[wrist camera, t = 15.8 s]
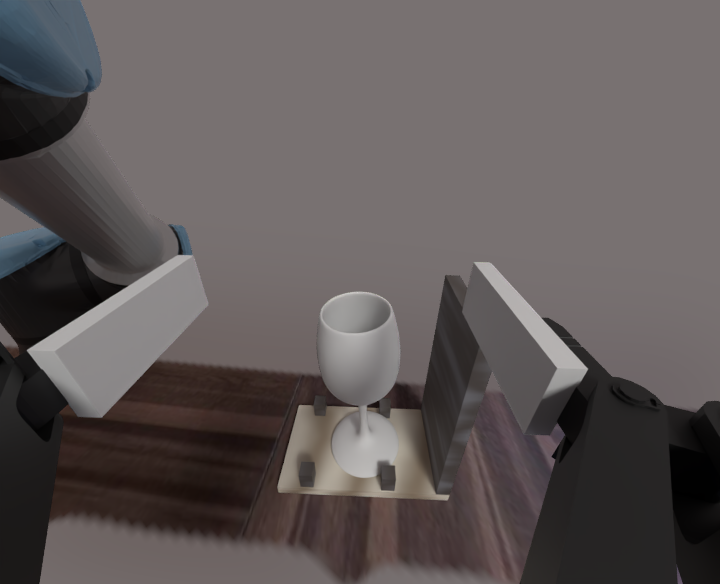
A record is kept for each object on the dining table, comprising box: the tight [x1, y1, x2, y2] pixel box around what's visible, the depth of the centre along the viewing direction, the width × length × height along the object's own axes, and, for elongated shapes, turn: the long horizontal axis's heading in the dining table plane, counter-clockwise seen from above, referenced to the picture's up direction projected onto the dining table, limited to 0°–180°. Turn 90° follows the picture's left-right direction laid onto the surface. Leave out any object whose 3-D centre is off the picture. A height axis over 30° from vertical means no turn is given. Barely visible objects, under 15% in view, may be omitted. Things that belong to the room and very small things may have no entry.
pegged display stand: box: [277, 275, 492, 500], centre depth 31 cm, size 20×11×23 cm, turn 88°
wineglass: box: [317, 292, 400, 478], centre depth 30 cm, size 9×9×21 cm
